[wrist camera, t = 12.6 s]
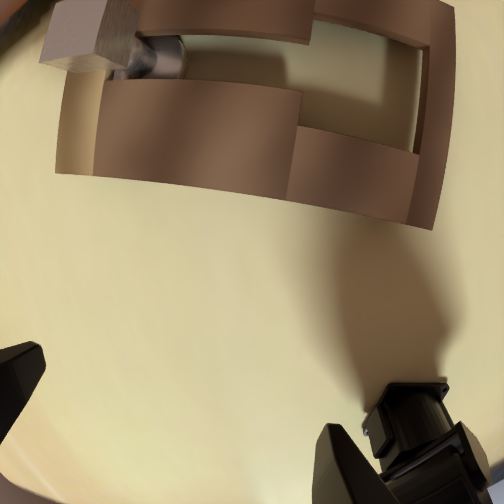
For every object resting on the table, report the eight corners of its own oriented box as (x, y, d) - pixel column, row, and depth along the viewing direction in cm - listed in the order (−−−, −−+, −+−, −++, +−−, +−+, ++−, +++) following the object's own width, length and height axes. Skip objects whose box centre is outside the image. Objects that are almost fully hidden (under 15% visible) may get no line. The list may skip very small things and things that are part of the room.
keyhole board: (434, 22, 13) (453, 7, 10) (411, 218, 18) (432, 230, 15) (116, -13, 14) (96, -29, 11) (81, 168, 18) (55, 173, 16)
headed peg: (193, 31, 15) (139, -34, 7) (180, 104, 17) (109, 75, 9) (123, 35, 15) (47, -10, 7) (110, 103, 17) (20, 88, 9)
